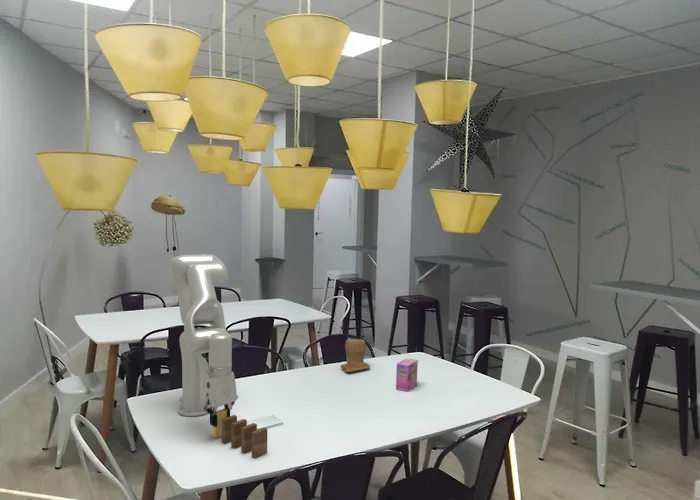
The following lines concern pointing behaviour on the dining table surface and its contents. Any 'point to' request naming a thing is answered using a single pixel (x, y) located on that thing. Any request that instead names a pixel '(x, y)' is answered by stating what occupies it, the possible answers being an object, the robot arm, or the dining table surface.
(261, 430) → the walnut domino
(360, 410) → the dining table surface
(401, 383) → the box
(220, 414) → the ochre domino
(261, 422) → the hard drive
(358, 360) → the brown statuette
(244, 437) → the walnut domino
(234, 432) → the walnut domino
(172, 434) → the dining table surface
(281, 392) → the dining table surface
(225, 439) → the walnut domino
